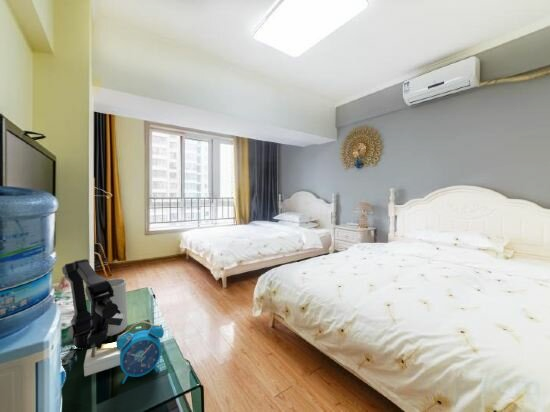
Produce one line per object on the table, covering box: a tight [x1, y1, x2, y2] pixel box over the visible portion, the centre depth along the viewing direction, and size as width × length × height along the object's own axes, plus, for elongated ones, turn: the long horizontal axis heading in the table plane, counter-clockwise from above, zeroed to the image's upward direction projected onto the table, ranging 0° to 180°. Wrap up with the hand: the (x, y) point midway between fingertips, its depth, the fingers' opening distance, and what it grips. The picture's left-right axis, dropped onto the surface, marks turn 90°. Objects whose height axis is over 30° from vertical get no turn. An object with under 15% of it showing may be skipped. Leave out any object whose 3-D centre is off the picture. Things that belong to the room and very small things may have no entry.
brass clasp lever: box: [96, 342, 117, 351], centre depth 103 cm, size 10×3×1 cm, turn 123°
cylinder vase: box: [101, 278, 128, 337], centre depth 125 cm, size 12×12×25 cm
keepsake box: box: [83, 341, 121, 377], centre depth 102 cm, size 15×10×7 cm
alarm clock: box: [115, 320, 165, 385], centre depth 96 cm, size 17×10×20 cm, turn 120°
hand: (99, 347), depth 101 cm, fingers closed, pressing on brass clasp lever
